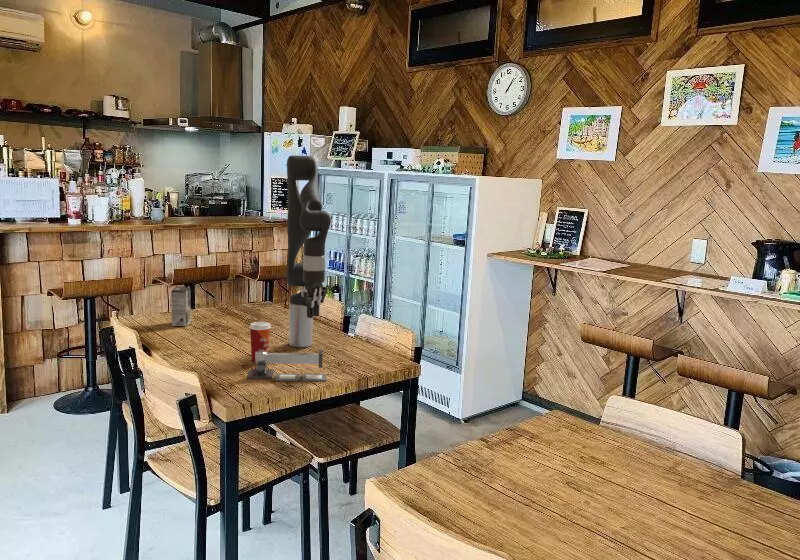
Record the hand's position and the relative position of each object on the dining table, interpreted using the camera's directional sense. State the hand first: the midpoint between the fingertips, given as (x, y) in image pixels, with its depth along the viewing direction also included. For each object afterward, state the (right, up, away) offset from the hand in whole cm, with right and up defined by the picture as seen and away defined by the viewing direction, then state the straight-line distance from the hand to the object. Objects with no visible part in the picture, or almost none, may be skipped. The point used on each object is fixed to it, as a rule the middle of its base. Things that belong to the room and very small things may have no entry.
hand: (312, 316), depth 214 cm
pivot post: (-17, -20, -6) cm, 27 cm away
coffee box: (-66, -7, +55) cm, 86 cm away
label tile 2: (+1, -21, -6) cm, 22 cm away
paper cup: (-21, -17, +10) cm, 29 cm away
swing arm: (-7, -16, -5) cm, 19 cm away
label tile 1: (-8, -20, -8) cm, 23 cm away
